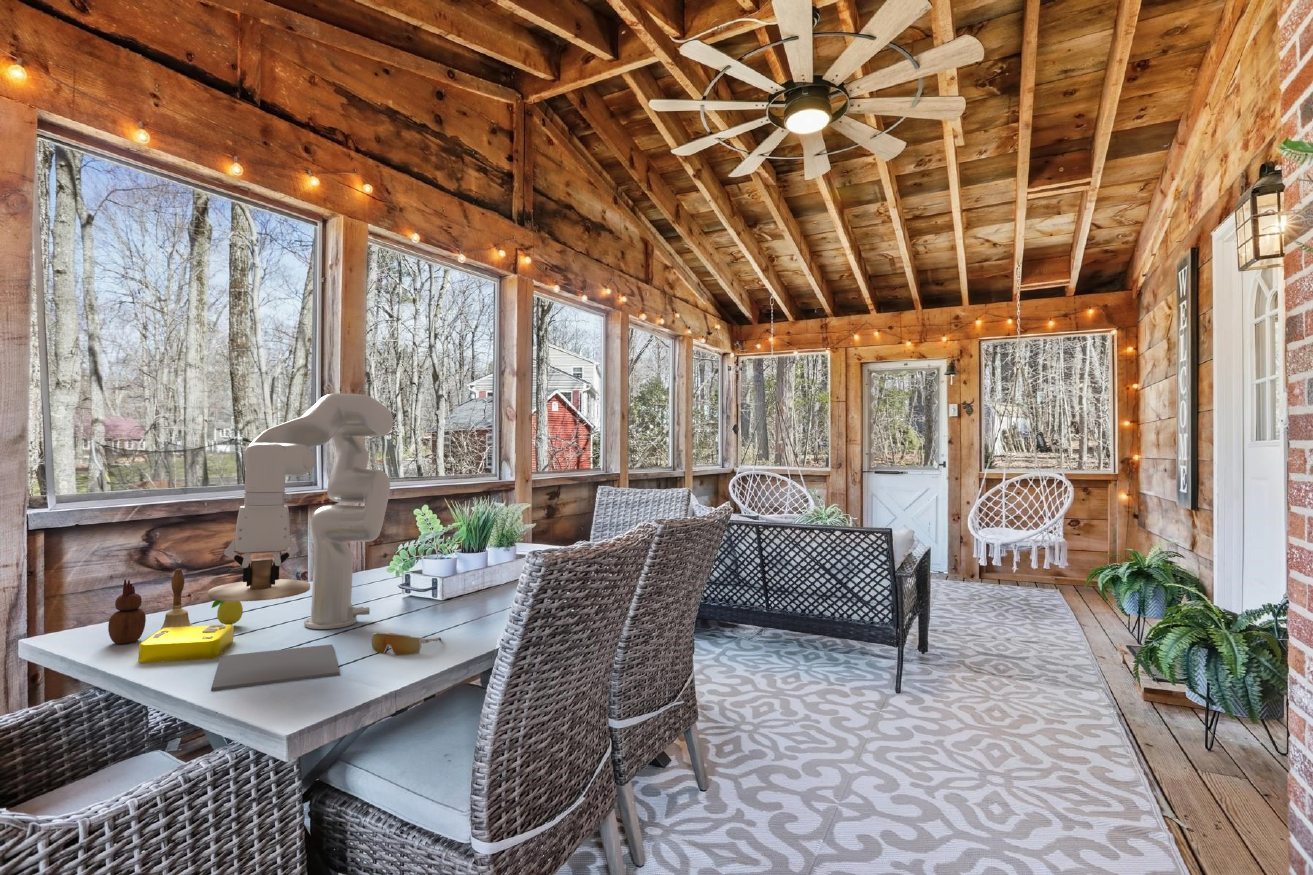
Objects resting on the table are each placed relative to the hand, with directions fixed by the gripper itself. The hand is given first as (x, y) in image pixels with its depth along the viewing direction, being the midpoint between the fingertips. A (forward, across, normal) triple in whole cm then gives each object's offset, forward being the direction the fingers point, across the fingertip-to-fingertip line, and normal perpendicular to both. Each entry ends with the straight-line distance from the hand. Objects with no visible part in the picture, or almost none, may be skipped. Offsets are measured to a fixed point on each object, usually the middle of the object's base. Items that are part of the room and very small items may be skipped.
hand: (260, 583), depth 141 cm
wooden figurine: (+17, +26, -30) cm, 43 cm away
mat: (+17, -4, +5) cm, 18 cm away
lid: (+2, 0, 0) cm, 2 cm away
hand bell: (+17, +17, -34) cm, 42 cm away
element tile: (+18, +13, -16) cm, 27 cm away
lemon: (+17, +6, -36) cm, 41 cm away
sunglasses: (+18, -30, +1) cm, 35 cm away
